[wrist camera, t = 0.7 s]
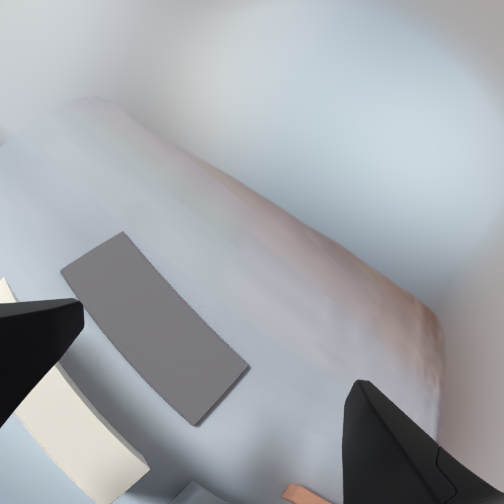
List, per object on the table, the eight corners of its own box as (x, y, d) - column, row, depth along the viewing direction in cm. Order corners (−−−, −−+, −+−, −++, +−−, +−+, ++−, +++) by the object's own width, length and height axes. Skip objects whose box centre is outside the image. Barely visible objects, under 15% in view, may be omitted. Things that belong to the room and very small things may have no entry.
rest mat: (192, 425, 18) (193, 425, 18) (60, 272, 20) (60, 270, 19) (246, 365, 23) (248, 364, 22) (122, 233, 24) (123, 231, 24)
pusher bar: (108, 485, 13) (104, 509, 8) (-7, 337, 14) (-38, 309, 10) (142, 455, 15) (150, 469, 11) (27, 311, 17) (3, 277, 12)
